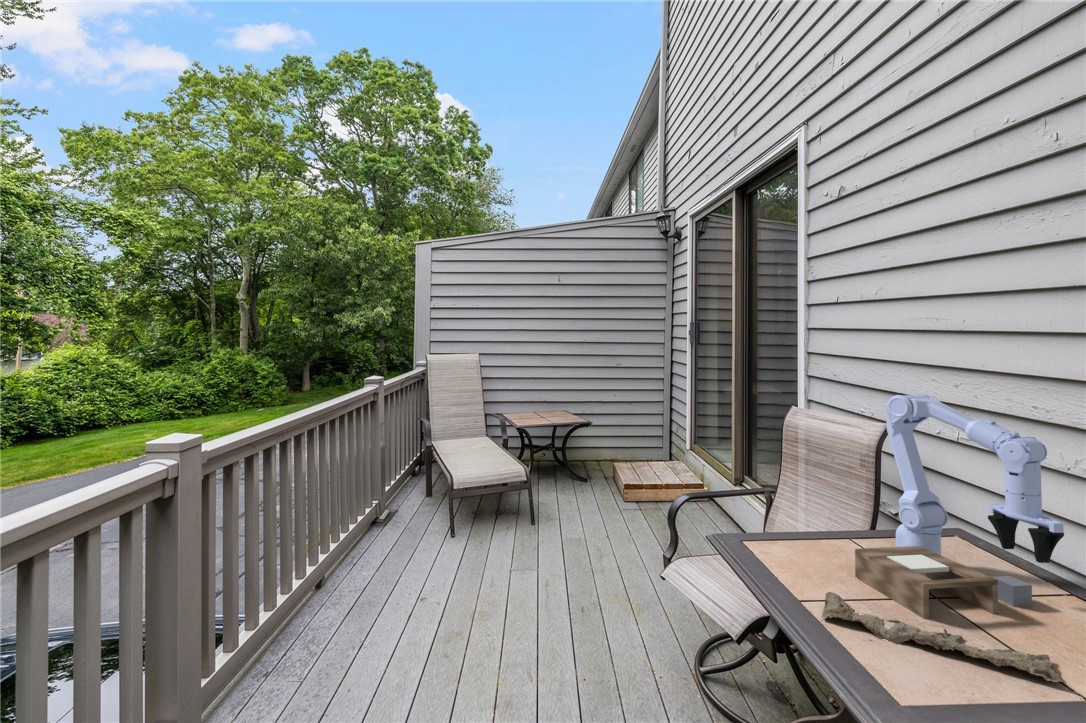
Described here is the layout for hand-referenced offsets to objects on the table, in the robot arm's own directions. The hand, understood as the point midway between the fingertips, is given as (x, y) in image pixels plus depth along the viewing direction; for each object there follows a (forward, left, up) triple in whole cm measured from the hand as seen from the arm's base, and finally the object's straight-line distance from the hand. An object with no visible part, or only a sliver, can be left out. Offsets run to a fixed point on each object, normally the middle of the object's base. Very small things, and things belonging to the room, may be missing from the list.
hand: (1024, 555), depth 106 cm
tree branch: (+10, -34, -11) cm, 37 cm away
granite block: (-1, -2, -11) cm, 11 cm away
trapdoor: (-7, -19, -4) cm, 21 cm away
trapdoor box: (-6, -19, -11) cm, 22 cm away
